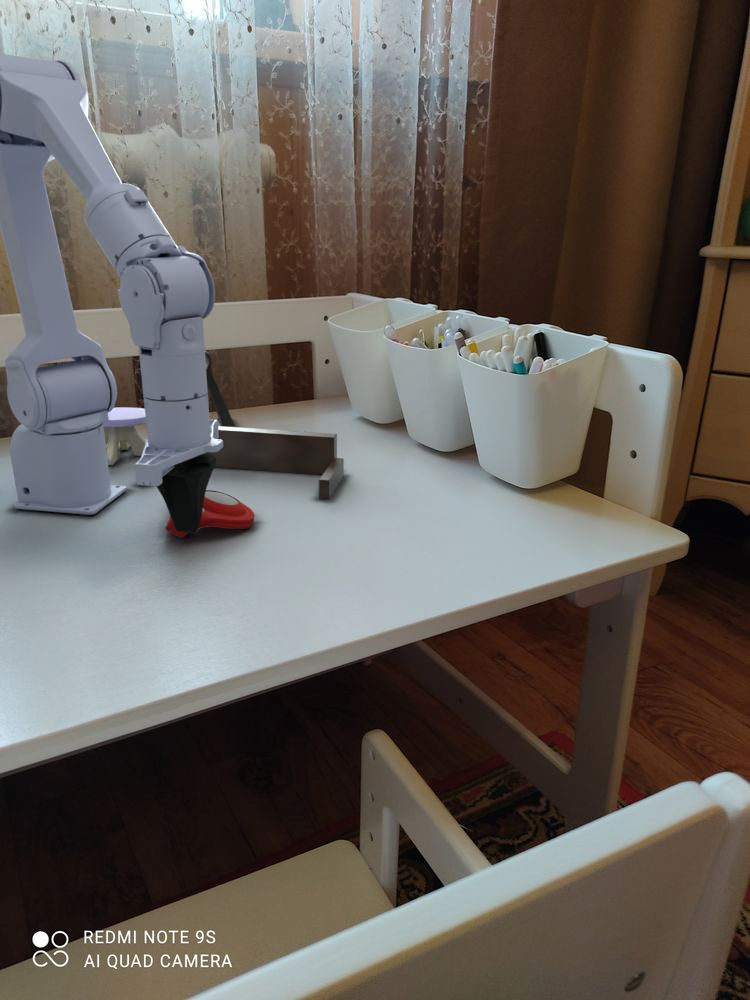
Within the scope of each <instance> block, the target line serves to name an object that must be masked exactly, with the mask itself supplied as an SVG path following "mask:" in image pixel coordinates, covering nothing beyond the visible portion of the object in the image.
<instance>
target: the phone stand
mask: <svg viewBox="0 0 750 1000" xmlns="http://www.w3.org/2000/svg"><path fill="white" fill-rule="evenodd" d="M205 362H206V376H207V390H208V391H209V392H208V393H209V395H210V398H211V402H212V403H213V406H214V409H215V413H216V415H217V418H216V419H215V420H218V426H223V427H236V425H235V422H234V420H233V417H232V416H231V414H230V411H229V409H228V406H227V405H226V402H225V400H224V398H223V395H222V394H221V391H220V389H219V387H218V384H217V382H216V379H215V378H214V375H213V373H212V359H211V356H210V354H209V353H208V351H207V350H206V349H205Z"/></svg>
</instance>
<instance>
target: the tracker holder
mask: <svg viewBox="0 0 750 1000" xmlns="http://www.w3.org/2000/svg"><path fill="white" fill-rule="evenodd" d="M254 520H255V512H254V511H253V510H252V508H250V507H249V506H248V505H246V504H244V503H243V502H241V501H240V500H239V499H237V498H236V497H234V496H232V495H230V494H228V493H225V492H221V491H217V490H211V489H206V492H205V497H204V502H203V509H202V515H201V521H200V526H199V529H203V528H210V527H211V528H217V529H218V528H219V529H230V530H231V529H232V530H243V529H244V530H245V529H248V528H251V527H252V526H253V525H254ZM165 531H167V532H169V533H171V534H172V535H174V536H176V537H178V538H180V539H185V537H186V536H187V535H188V534H189V533H190V532H180V531H176V529H175V526H174V524H173V521H172V519H171V516H170V515H169V518H168V521H167V524H166V526H165Z"/></svg>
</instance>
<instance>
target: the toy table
mask: <svg viewBox="0 0 750 1000" xmlns="http://www.w3.org/2000/svg"><path fill="white" fill-rule="evenodd" d="M108 418H109V421H106V422H103V428H104V436H105V444H106V452H107V460H108V466H113V465H114V464H115V463H117V461H118V460H119V454H118V453H119V446H120V450H125V451H126V450H129V449H130V448H131V450H132V453H133V456H134V457H141V456H142V453H143V450H144V447H145V444H146V441H147V439H145V438H144V437H143V436H142V435H140V433H139V432H138V431H137V429H136V428H135V426H141V425H146V415H145V407H144V408H142V407H125V406H124V407H119V406H118V407H114V408H113V409H112V410H111V411H110V412H109V413H108Z"/></svg>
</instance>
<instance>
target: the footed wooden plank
mask: <svg viewBox="0 0 750 1000" xmlns="http://www.w3.org/2000/svg"><path fill="white" fill-rule="evenodd" d="M218 432H219V438H218V439H221V440H223V448H222V449H220V450H219V451H218V452H206V453H204V454H205V455H213V456H215V457H216V465H215V467H214V468H223V469H237V470H249V471H265V472H279V473H293V474H305V475H306V474H307V475H320V477H319V478H318V499H319V500H326V501H327V500H330V499H331V498H332V497H333V494H334V493H335V491H336V489H337V488H338V486H339V485H340V483H341V481H342V480H343V478H344V476H345V475H344V474H345V472H344V471H345V468H344V467H345V466H344V465H345V461H344V458H343V457H338V433H332V432H317V431H316V432H314V431H301V430H300V431H299V430H285V429H271V428H270V429H268V428H256V427H255V428H254V427H239V426H238V427H237V426H235V427H223V426H218Z"/></svg>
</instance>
